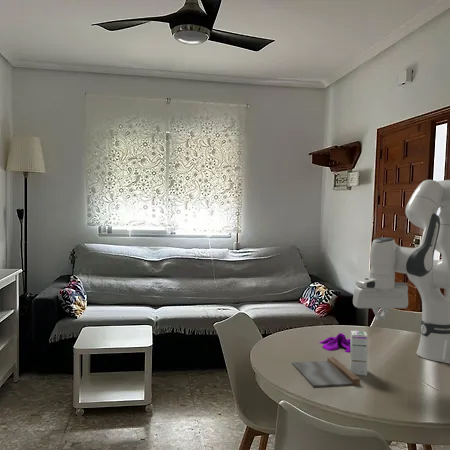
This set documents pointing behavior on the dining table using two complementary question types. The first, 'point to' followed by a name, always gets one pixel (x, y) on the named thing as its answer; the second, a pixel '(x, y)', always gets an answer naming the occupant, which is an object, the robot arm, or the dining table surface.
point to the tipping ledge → (326, 373)
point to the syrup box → (358, 352)
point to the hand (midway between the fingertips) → (379, 320)
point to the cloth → (337, 343)
